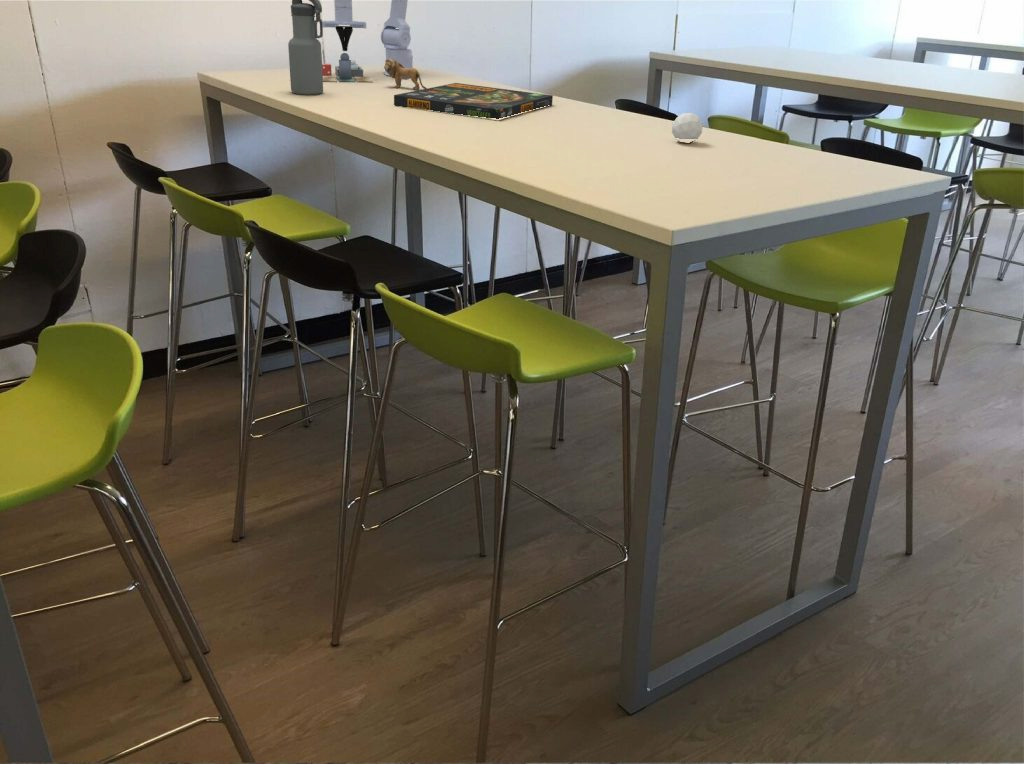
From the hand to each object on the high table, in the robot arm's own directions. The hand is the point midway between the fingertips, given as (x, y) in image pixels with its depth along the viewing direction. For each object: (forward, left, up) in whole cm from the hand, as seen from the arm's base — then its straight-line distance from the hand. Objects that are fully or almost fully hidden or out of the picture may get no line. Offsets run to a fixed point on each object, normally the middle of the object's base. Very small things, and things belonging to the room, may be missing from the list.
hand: (344, 50), depth 299 cm
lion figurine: (-17, +19, -10) cm, 27 cm away
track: (0, +1, -9) cm, 9 cm away
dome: (-2, -11, -9) cm, 14 cm away
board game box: (-33, +51, -10) cm, 62 cm away
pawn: (0, +1, -9) cm, 9 cm away
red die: (+6, -11, -9) cm, 16 cm away
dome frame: (-2, -11, -9) cm, 14 cm away
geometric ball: (-76, +107, -10) cm, 132 cm away
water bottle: (+15, +29, -10) cm, 34 cm away
